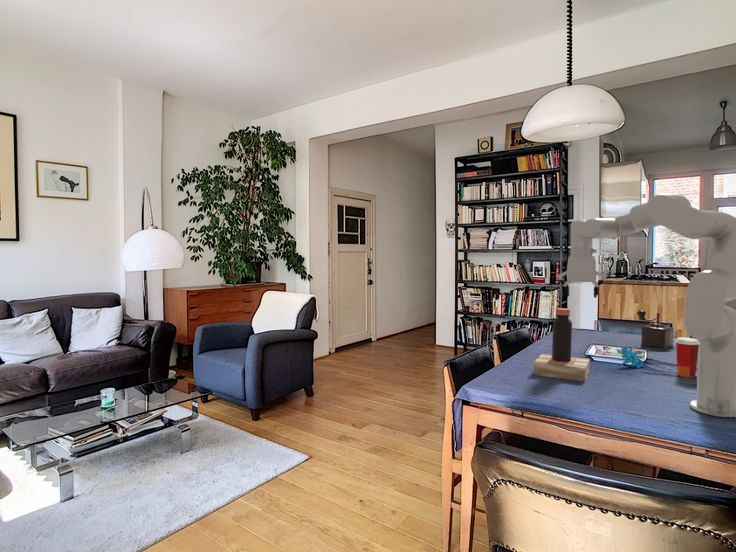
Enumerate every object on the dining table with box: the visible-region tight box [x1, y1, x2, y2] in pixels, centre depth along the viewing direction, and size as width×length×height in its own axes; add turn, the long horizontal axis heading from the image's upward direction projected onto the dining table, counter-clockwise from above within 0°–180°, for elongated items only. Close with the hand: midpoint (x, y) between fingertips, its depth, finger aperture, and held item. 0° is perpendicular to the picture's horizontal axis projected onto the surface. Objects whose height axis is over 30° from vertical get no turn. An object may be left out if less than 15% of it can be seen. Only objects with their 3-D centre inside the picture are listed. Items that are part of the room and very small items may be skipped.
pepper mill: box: [636, 309, 674, 349], centre depth 221 cm, size 16×11×18 cm
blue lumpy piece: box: [619, 346, 644, 369], centre depth 187 cm, size 11×6×10 cm
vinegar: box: [551, 307, 573, 362], centre depth 175 cm, size 7×7×20 cm
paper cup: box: [674, 337, 700, 378], centre depth 171 cm, size 8×8×14 cm
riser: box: [533, 353, 591, 383], centre depth 176 cm, size 16×18×5 cm
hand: (581, 296), depth 173 cm, fingers open, 9 cm apart
